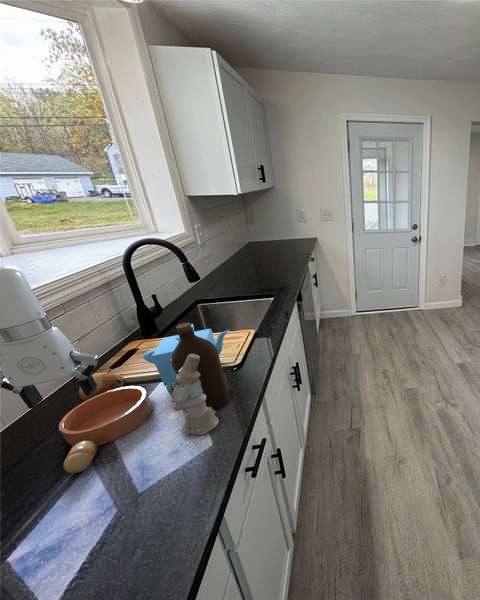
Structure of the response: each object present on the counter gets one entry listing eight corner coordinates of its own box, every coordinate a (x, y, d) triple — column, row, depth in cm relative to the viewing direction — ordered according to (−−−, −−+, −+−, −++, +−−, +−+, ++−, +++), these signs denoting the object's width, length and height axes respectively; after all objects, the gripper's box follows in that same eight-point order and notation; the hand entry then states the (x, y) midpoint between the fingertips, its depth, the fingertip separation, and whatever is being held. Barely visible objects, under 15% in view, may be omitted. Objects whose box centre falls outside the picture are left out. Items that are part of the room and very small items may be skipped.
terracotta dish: (55, 460, 74) (45, 444, 72) (82, 414, 89) (74, 400, 87) (146, 429, 82) (138, 415, 80) (157, 392, 96) (151, 378, 94)
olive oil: (238, 399, 90) (212, 322, 81) (198, 421, 83) (164, 339, 74) (224, 385, 97) (198, 312, 87) (185, 404, 90) (153, 327, 80)
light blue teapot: (150, 385, 100) (131, 345, 94) (204, 353, 115) (191, 318, 110) (189, 398, 92) (171, 356, 87) (240, 363, 108) (229, 325, 102)
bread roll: (104, 394, 103) (80, 379, 99) (132, 374, 104) (111, 359, 100) (90, 413, 94) (64, 398, 90) (122, 392, 96) (97, 376, 92)
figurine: (226, 411, 86) (204, 349, 78) (211, 436, 78) (185, 369, 70) (193, 415, 86) (168, 352, 78) (175, 439, 78) (145, 373, 70)
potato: (92, 471, 71) (83, 457, 69) (65, 481, 69) (55, 466, 67) (103, 447, 77) (94, 433, 75) (78, 455, 75) (69, 441, 73)
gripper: (-54, 348, 56) (-1, 421, 63) (66, 327, 61) (104, 397, 68) (-19, 330, 63) (26, 398, 69) (87, 313, 68) (119, 378, 74)
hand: (64, 397), depth 68 cm, fingers open, 9 cm apart
